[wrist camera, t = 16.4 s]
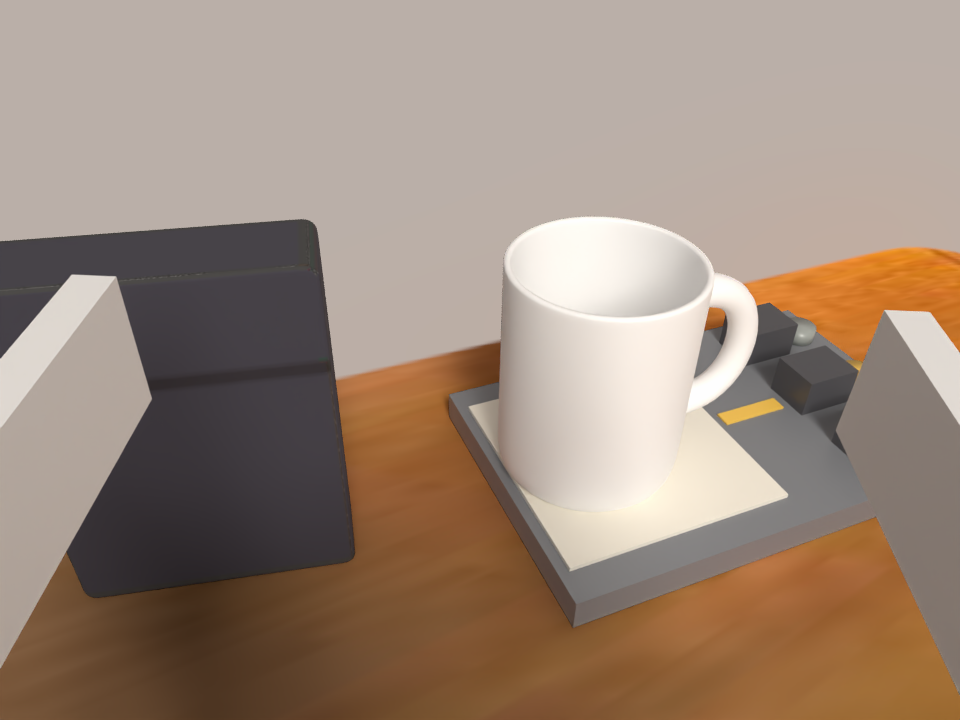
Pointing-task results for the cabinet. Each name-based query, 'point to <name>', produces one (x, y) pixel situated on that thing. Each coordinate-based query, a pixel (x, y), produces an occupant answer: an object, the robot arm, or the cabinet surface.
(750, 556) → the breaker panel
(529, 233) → the mug
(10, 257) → the dark grey box
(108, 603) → the cabinet surface
